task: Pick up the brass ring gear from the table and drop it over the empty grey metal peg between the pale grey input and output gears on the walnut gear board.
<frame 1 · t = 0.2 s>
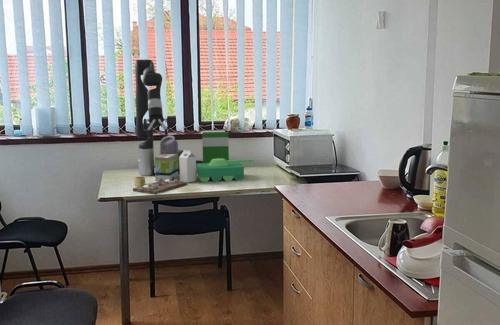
hand: (157, 137, 288), 31 cm above the table, tool tilted 20°, fingers open, 8 cm apart
tea box: (167, 179, 332), on the table
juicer: (173, 171, 355), on the table
gear board: (160, 187, 306), on the table
toy tank: (226, 178, 331), on the table
brass ring gear: (140, 184, 315), on the table
hardback book: (216, 167, 369), on the table
milk carton: (188, 181, 322), on the table
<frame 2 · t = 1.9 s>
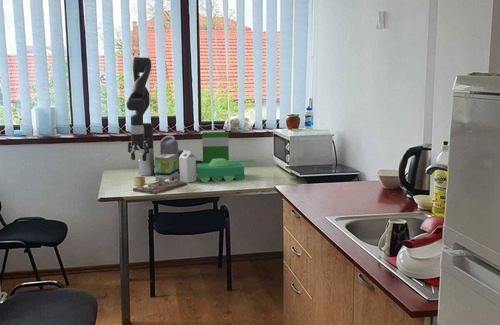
hand: (138, 160, 312), 15 cm above the table, tool pointing down, fingers open, 8 cm apart
nothing on the table moved.
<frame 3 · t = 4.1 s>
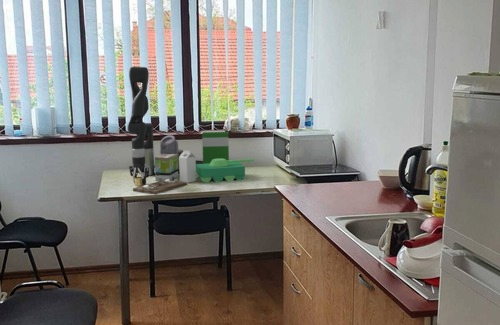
hand: (139, 183, 314), 1 cm above the table, tool pointing down, fingers closed on brass ring gear, 6 cm apart
brass ring gear: (140, 184, 315), on the table, touching gripper
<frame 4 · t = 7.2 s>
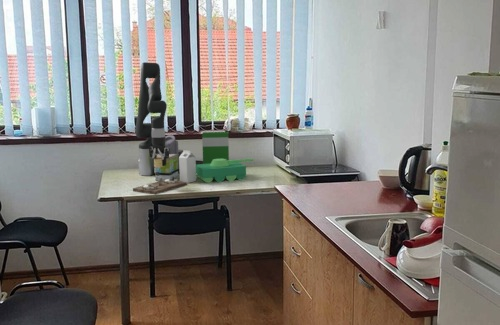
hand: (159, 165, 304), 13 cm above the table, tool pointing down, fingers closed on brass ring gear, 6 cm apart
brass ring gear: (159, 166, 304), point 13 cm above the table, touching gripper
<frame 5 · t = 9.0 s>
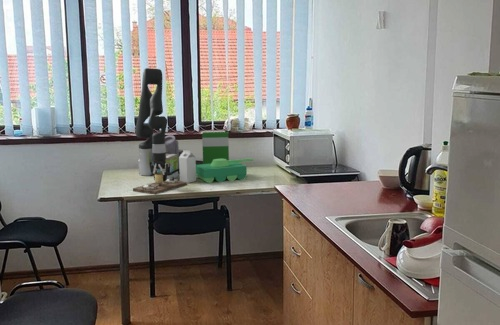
hand: (160, 180, 305), 4 cm above the table, tool pointing down, fingers closed on brass ring gear, 6 cm apart
brass ring gear: (160, 181, 305), point 4 cm above the table, touching gripper
when the fingers open (4 cm above the table, at t = 10.5 s): brass ring gear drops 1 cm, resting on gear board.
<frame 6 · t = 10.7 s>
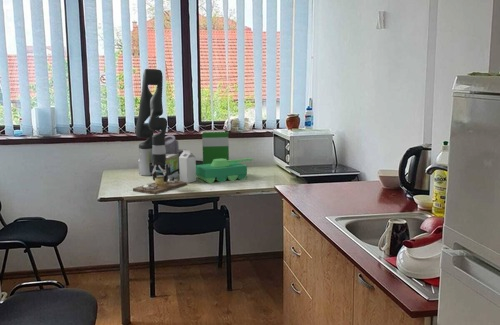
hand: (160, 180, 306), 4 cm above the table, tool pointing down, fingers open, 7 cm apart
brass ring gear: (160, 185, 306), point 1 cm above the table, touching gear board
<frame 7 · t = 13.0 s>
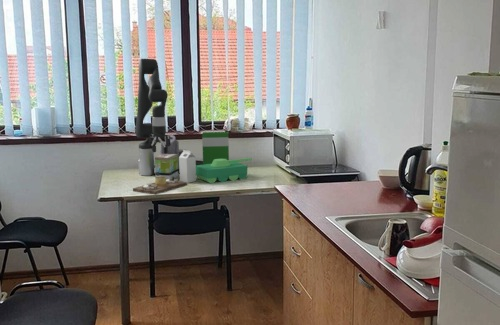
hand: (160, 152, 307), 20 cm above the table, tool pointing down, fingers open, 8 cm apart
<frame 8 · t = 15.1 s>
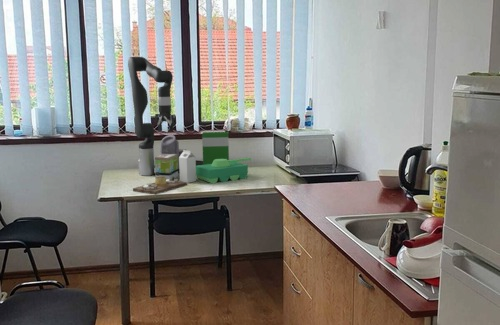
hand: (165, 131, 321), 30 cm above the table, tool pointing down, fingers open, 8 cm apart
at the end: brass ring gear 0.3 cm from the gear board (horizontally); brass ring gear point 1.5 cm above the table; brass ring gear tilted 0° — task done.
